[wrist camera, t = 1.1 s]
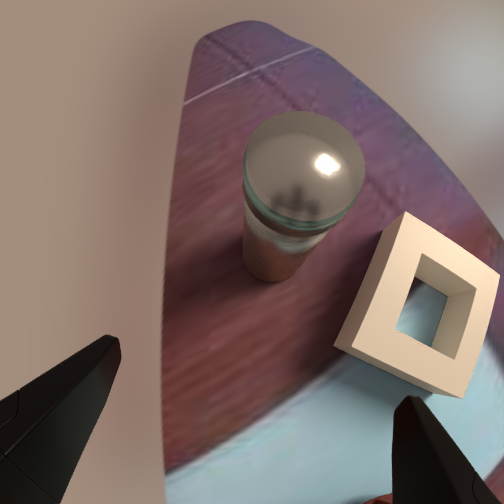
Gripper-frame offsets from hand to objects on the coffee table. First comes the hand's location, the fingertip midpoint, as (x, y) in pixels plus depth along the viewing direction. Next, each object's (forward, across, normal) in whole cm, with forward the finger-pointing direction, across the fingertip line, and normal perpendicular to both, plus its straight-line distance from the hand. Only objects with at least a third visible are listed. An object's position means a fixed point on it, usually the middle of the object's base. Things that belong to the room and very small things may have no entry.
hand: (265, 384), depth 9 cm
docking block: (+13, -12, +6) cm, 19 cm away
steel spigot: (+15, 0, +4) cm, 16 cm away
